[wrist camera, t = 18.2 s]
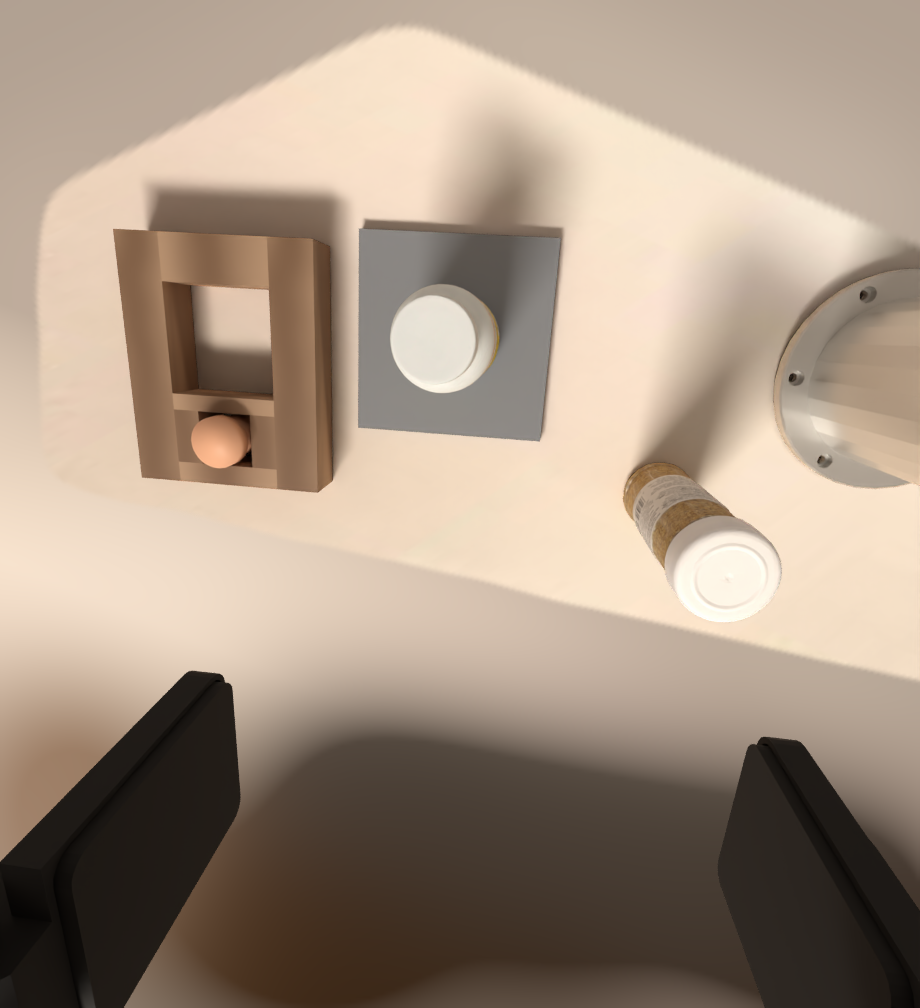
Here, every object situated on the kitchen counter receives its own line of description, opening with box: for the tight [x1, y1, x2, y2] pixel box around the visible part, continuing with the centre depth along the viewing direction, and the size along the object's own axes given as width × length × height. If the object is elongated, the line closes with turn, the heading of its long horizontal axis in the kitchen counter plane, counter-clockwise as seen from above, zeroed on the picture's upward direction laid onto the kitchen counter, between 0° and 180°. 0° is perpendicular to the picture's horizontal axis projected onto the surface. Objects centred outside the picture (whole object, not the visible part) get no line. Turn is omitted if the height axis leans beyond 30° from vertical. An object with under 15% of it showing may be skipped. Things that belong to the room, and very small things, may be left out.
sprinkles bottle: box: [623, 463, 782, 622], centre depth 30 cm, size 5×5×14 cm
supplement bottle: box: [390, 284, 499, 393], centre depth 30 cm, size 5×5×10 cm
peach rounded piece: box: [191, 414, 252, 468], centre depth 36 cm, size 3×3×4 cm
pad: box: [358, 229, 561, 441], centre depth 35 cm, size 12×12×1 cm
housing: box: [113, 229, 332, 493], centre depth 36 cm, size 12×15×3 cm
